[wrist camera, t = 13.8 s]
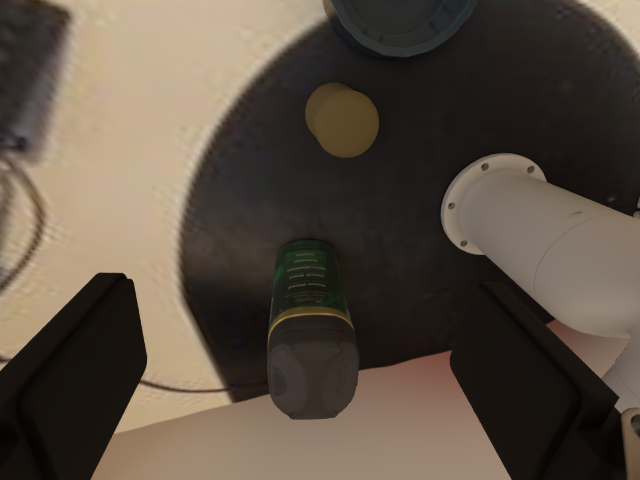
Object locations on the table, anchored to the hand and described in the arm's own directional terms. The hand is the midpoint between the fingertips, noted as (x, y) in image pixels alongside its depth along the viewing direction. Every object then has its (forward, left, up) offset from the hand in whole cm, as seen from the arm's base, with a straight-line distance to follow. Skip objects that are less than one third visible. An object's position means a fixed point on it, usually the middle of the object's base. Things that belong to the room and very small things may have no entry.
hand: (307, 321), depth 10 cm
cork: (-4, -3, -31) cm, 31 cm away
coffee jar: (-2, +16, -31) cm, 34 cm away
